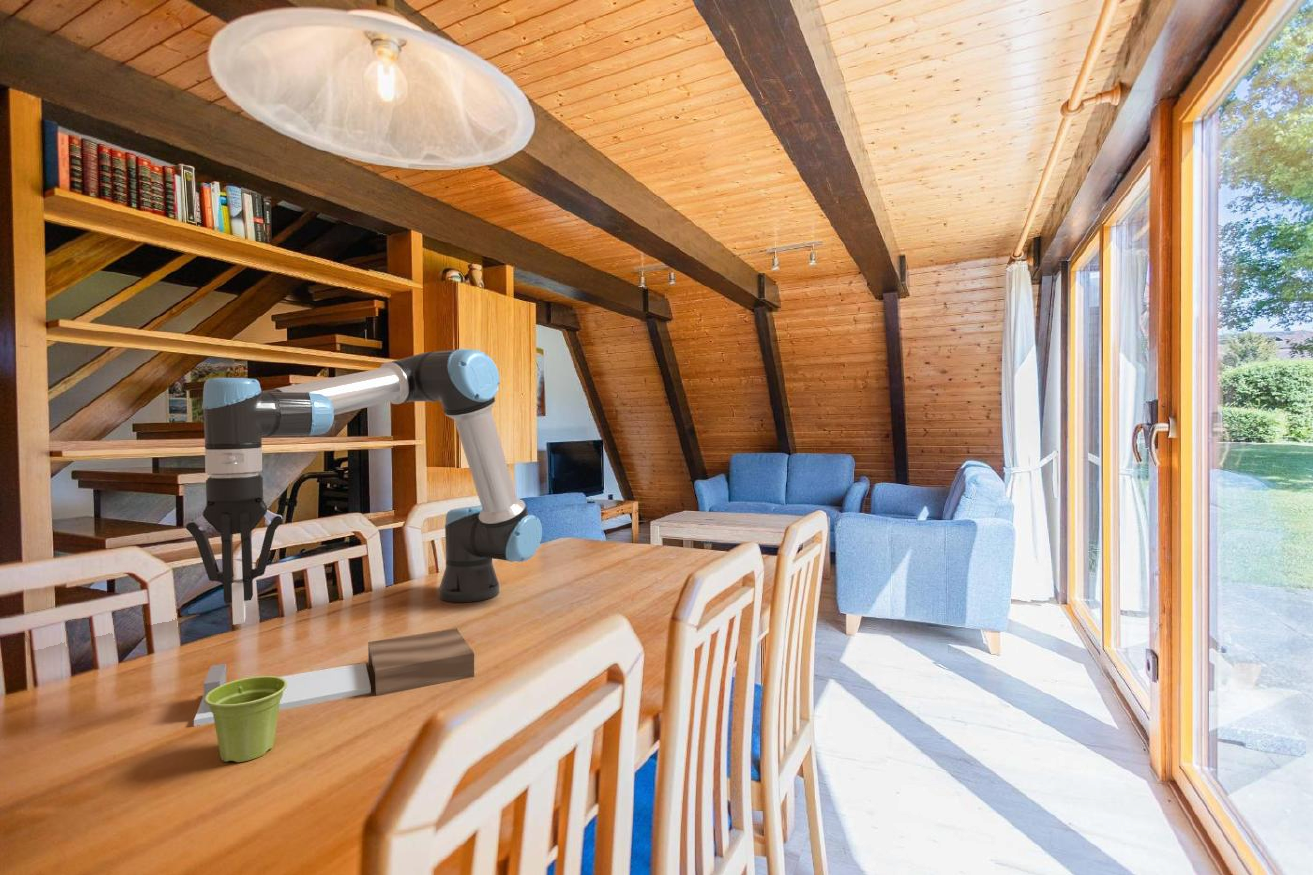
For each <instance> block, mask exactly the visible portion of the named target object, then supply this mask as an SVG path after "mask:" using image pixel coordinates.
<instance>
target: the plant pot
mask: <svg viewBox="0 0 1313 875" xmlns="http://www.w3.org/2000/svg"><path fill="white" fill-rule="evenodd" d="M280 677H281V676H275V675H273V676H271V675H262V676H260V675H259V676H252V677H246V678H240V679H235V680H233V681H230V682H226V684H224V685H221V686H219V687H217V688H215V689H213V690H212V691H210V692H209V693H208V694H207V695H206V697H205V702H206V703H207V704H208V705H209V707H210V711H211V712H212V713H213V717H214V722H215V723H214V727H215V732H216V738H217V743H218V749H219V754H220V759H221V760H222V761H223V762H227V763H228V762H229V761H233V762H236V763H243V762H247V761H252V760H254V759H257V758H260V757H262V756H264V755H265V754H266V753H267V752H268V751H269V750H272V749H273V747H274V744H275V737H276V730H277V723H278V716H279V711H280V710H279V704H280V700H281V698H282V695H283V691H284V690H285V689H286V687H287V681H286V680H285V679H283V678H280ZM278 710H279V711H278Z"/></svg>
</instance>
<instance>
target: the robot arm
mask: <svg viewBox="0 0 1313 875" xmlns="http://www.w3.org/2000/svg"><path fill="white" fill-rule="evenodd" d="M500 381H501V379H500V372H499V369H498V367H497V365H496V363H495V362H494V361H493V359H492V358H491V357H490V356H489V354H487V353H485V352H483V351H481V350H479V349H474V348H472V349H468V348H458V349H448V350H446V349H445V350H438V351H427V352H422V353H419V354H415V355H412V356H408V357H404V358H401V359H396V360H393V361H387V362H385V363H382V364H381V366H380V367H379V368H376V369H370V370H365V371H361V372H354V373H350V374H344V375H339V376H334V377H329V378H328V377H327V378H322V379H319V380H313V381H309V382H302V383H297V384H293V385H287V386H282V387H277V388H273V389H267V390H262V388H261V384H260V382H259V380H257V379H255V378H247V377H212V378H211V377H210V378H208V379H207V380H206V381H205V382H204V384H203V391H202V405H201V409H202V410H203V411H202V414H203V429H204V432H203V433H204V461H205V462H204V465H205V467H204V468H205V469H204V473H205V474H207V475H209V477H207V479H205V493H206V494H205V495H206V496H205V497H206V498H205V500H206V504H205V507H204V509H203V512H202V515H200V516H199V517H197V518H195V519H194V520H190V521H189V522H188V523H187V524H185V525H186V526H185V529H186V530H187V532H189V533H190V535H192V536H193V537H194V540H195V543H196V545H197V548H198V552H199V554H200V557H201V560H202V563H203V566H204V569H205V572H206V575H207V578H208V581H210V582H218V583H221V584H222V585H223V588H222V590H223V602H224V603H225V604H231V606H232V625H233V626H234V625H239V624H240V625H241V624H245V622H246V619H247V618H246V617H247V616H246V612H247V611H246V602H247V601H252V599H253V597H254V585H253V584H254V583H253V580H254V579H256V578H258V577H261V576H264V574H265V573H266V568H267V565H268V560H269V556H270V553H271V549H272V545H273V541H274V536H275V532H276V530H277V529H278V527H279V526H280V525H281V523H282V520H283V516H282V515H281V514H276V513H274V512H272V511H270V510H269V509H268V506H267V505H266V502H265V500H264V482H263V481H264V480H263V478H264V477H262V475H260V474H259V473H261V472H262V471H263V447H262V446H263V444H262V442H263V441H262V440H263V439H262V437H263V438H267V437H290V436H291V437H296V436H297V437H299V436H307V437H311V436H316V435H317V436H318V435H324V434H325V433H327V432H329V431H330V429H331V428H332V426H333V424H334V419H335V416H337V415H340V414H345V413H348V412H353V411H357V410H361V409H365V408H369V407H374V406H377V405H381V404H385V403H390V404H393V405H400V404H403V403H410V402H411V403H412V402H429V403H430V402H435V403H436V402H438V403H439V402H440V403H441V406H442V409H443V412H444V415H445V416H446V417H448V418H451V419H452V420H453V421H454V424H455V427H456V430H457V433H458V436H459V439H460V442H461V446H462V449H463V451H464V454H465V459H466V461H467V464H468V468H469V471H470V474H471V478H472V480H473V484H474V486H475V490H476V493H477V496H478V499H479V502H480V505H474V506H473V505H472V506H465V507H459V508H453V509H450V510H449V511H447V512H446V515H445V516H446V517H445V524H444V532H445V561H446V562H445V564H446V565H445V569H444V571H443V575H442V579H441V581H440V585H439V587H438V590H439V591H438V598H439V599H440V600H443V601H446V602H450V603H451V602H452V603H474V602H480V601H485V600H489V599H491V598H494V597H496V596H498V595H500V581H499V579H498V576H497V573H496V570H495V568H494V564H493V559H495V560H499V561H500V560H501V561H508V562H510V563H514V562H516V563H517V562H519V563H523V562H526V561H528V560H530V559H531V558H533V556H534V555H535V554H536V553H537V550H538V549H539V547H540V544H541V541H542V537H543V526H542V523H541V520H540V519H539V518H538V517H537V516H535V515H533V514H529V513H528V508H527V506H526V503H525V501H524V500H522V499H519V498H517V493H516V490H515V487H514V483H513V480H512V477H511V473H510V470H509V469H510V468H509V466H508V463H507V460H506V456H505V454H504V453H505V452H504V449H503V446H502V442H501V439H500V436H499V432H498V429H497V426H496V421H495V418H494V415H493V411H492V408H493V406H494V405H495V403H496V398H495V396H497V393H498V392H499V388H500V387H499V385H500ZM263 518H264V519H265V521H264V525H265V526H266V527H267V528H266V531H265V532H264V533H265V534H264V537H263V538H264V539H263V542H262V545H261V551H260V553H259V554H260V555H259V558H258V562H257V566H256V567H255V568H253V549H252V548H253V547H252V546H253V544H252V534H253V533H252V531H253V530H254V529H255V528H256V527H257V525H258V524H259V523H260V522H261V520H262V519H263ZM207 522H208V523H209V525H211V526H212V527H213V528H214V529H215V530H216V531H217V532H218V533H219V534H220V540H221V565H222V566H221V567H222V568H221V569H222V571H220V570H219V567H218V563H217V560H216V557H215V554H214V551H213V548H212V546H211V542H210V540H209V537H208V534H207V532H206V531H205V530H207V528H208V526H207ZM233 534H240V542H241V543H240V544H241V545H240V546H241V547H240V548H241V568H242V569H241V571H242V572H241V573H242V575H241V577H242V578H239V579H234V577H235V575H234V549H233V547H234V544H233V543H234V542H233V538H234V537H233V536H234V535H233Z"/></svg>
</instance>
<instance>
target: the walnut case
mask: <svg viewBox="0 0 1313 875" xmlns="http://www.w3.org/2000/svg"><path fill="white" fill-rule="evenodd" d="M367 644H368V646H367V648H368V649H367V650H368V656H367V657H368V667H372V668H373V672H374V675H375V676H374V678H375V680H374V682H375V683H374V684H375V685H374V686H375V688H374V689H375V696H381V695H387V694H392V693H396V692H402V691H407V690H412V689H417V688H423V687H428V686H433V685H438V684H443V683H448V682H453V680H454V681H457V680H463V679H469V678H473V677H475V653H474V651H473V649H472V648H471V647H470V645H469V644H468V642H467V641H466V640H465V638H464V637H463V636H462V633H461V632H460V631H459V630H458V628H450V629H442V630H437V631H430V632H424V633H418V634H411V635H405V636H400V637H398V636H397V637H393V638H387V639H386V638H385V639H380V640H379V639H378V640H373V641H368V642H367Z"/></svg>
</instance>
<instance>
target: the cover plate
mask: <svg viewBox="0 0 1313 875" xmlns="http://www.w3.org/2000/svg"><path fill="white" fill-rule="evenodd" d="M279 677H280V678H283V679H285V680H286V681H287V687H286V689H285V690H284V691H283V695H282V698H281V700H280V704H279V710H278V712H279V711H282V710H288V709H293V708H294V709H295V708H298V707H303V706H309V705H314V704H320V703H323V702H329V701H335V700H340V699H346V698H351V697H356V696H361V695H368V694H371V692H372V689H371V688H372V686H371V682H370V677H369V673H368V668H367V664H366V662H360V663H355V664H349V665H343V666H337V667H336V666H335V667H331V668H326V669H319V670H313V671H307V672H306V671H305V672H301V673H295V674H289V675H283V676H279ZM226 683H227V663H220V664H213V665H210V667H209V670H208V672H207V675H206V677H205V679H204V682H203V696H202V699H201V701H200V703H199V707H198V708H197V712H196V714H195V717H194V719H193V727H194V726H195V727H198V726H197V725H200V726H204V725H210V724H215V722H214V717H213V713H212V712H211V711H210V707H209V705H208V704H207V703H206V702H205V697H206V695H207V694H208V693H209V692H210V691H212V690H213V689H215V688H217V687H219V686H221V685H224V684H226Z"/></svg>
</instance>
